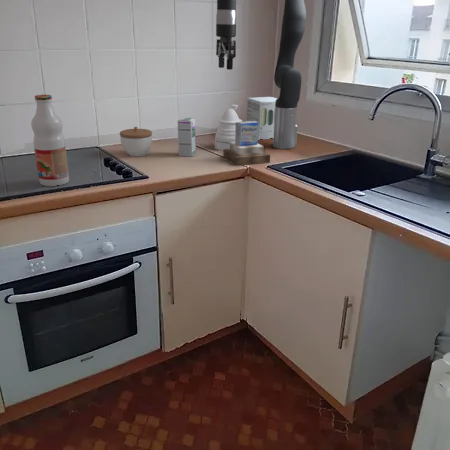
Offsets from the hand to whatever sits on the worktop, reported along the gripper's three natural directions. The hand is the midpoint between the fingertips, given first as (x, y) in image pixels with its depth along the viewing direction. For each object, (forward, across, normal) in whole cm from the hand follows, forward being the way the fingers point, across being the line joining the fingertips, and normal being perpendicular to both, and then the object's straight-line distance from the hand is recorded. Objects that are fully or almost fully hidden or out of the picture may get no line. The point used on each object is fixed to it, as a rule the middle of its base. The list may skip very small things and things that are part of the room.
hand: (225, 68), depth 181 cm
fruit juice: (+33, -20, +68) cm, 78 cm away
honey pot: (+33, +6, -5) cm, 34 cm away
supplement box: (+33, +22, -29) cm, 50 cm away
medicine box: (+27, -14, -4) cm, 31 cm away
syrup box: (+33, 0, +16) cm, 37 cm away
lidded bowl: (+33, +8, +35) cm, 49 cm away
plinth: (+33, -14, -4) cm, 36 cm away
